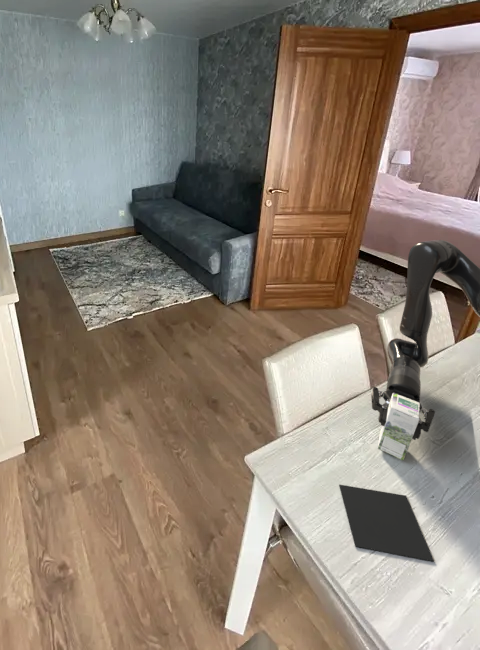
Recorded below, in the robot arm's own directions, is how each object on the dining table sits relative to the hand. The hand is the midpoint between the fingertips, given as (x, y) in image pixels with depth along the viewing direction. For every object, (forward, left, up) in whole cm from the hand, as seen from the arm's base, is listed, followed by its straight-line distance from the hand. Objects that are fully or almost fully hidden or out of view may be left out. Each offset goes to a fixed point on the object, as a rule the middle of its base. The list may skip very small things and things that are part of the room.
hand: (398, 429), depth 81 cm
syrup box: (-1, -2, -9) cm, 9 cm away
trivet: (+7, +15, -9) cm, 19 cm away
